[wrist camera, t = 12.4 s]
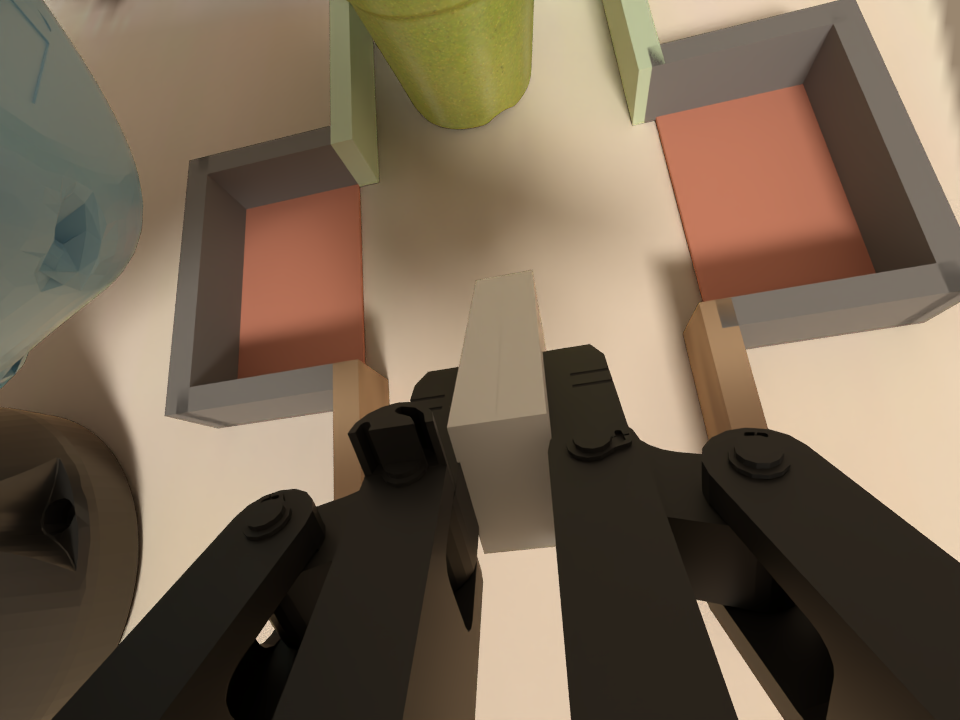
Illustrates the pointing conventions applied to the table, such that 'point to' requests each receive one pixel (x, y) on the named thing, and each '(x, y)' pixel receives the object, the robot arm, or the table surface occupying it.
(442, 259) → the table surface
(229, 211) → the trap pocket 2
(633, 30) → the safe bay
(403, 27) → the plant pot
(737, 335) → the chute
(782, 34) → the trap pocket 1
